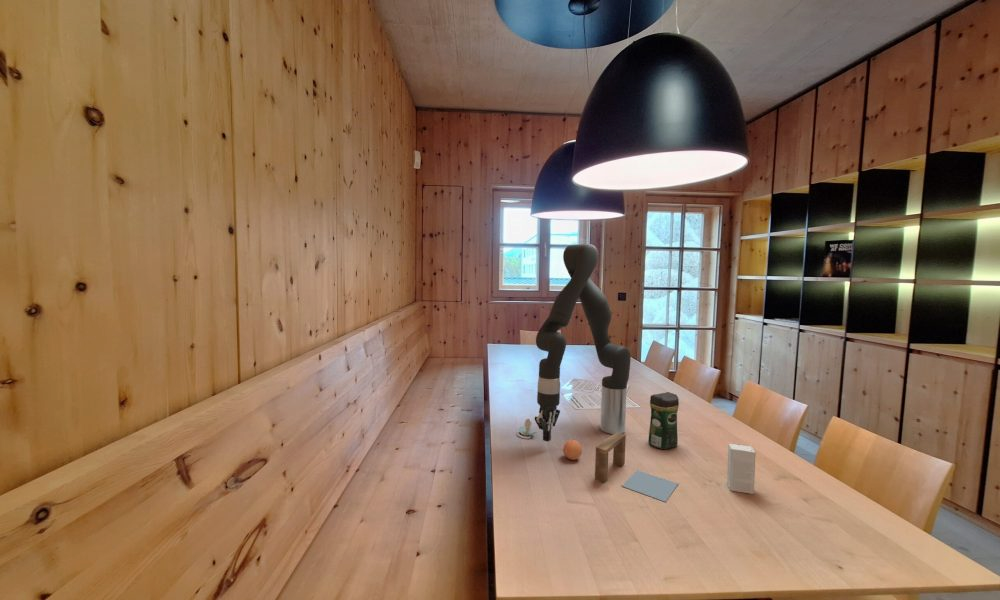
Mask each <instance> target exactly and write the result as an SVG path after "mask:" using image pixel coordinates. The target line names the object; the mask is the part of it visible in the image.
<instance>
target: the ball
mask: <svg viewBox="0 0 1000 600" xmlns="http://www.w3.org/2000/svg"><path fill="white" fill-rule="evenodd" d="M562 448H563V449H562V451H563V455H564V456H565V457H566V458H567V459H569V460H573V461H575V460H577V459H579V458H580V457H581V455H582V452H583V448H582V445H581V444H580V442H579V441H577V440H574V439H569V440H567V441H566V442H565V443H564V444H563V447H562Z"/></svg>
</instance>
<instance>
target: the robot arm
mask: <svg viewBox="0 0 1000 600" xmlns="http://www.w3.org/2000/svg"><path fill="white" fill-rule="evenodd" d="M562 259H563V264H564V266H565V269H566V271H567V272H568V275H569V277H570V280H569V281H568V282H567V284H565V286H564V287H563V288H562V289H561V291H560V292H559V294H557V296H556V298H555V299H554V302H553V304H552V307H551V309H550V312H549V314H548V317H547V318H546V320H545V321H544V322H543V324H542V325H541V327H540V328H539V330H538V332H537V334H536V336H535V344H536V346H537V349H538V350H540V351H543V352H547V357H545V358H542V359H541V360H540V361H539V363H538V364H539V365H538V379H537V394H536V395H537V397H536V403H537V404H538V406H539V411H538V416H535V417H534V421H535V423H536V425H537V427H538V429H540V430H542V440H543V441H544V442H550V441H551V439H552V430H553V427H555V426H556V424H557V421H558V419H559V417H560V413H561V410H560V409H558V408H557V407H558V406H559V405H560V402H561V401H560V400H561V380H560V379H561V378H560V377H561V365H562V362H563V358H564V355H565V353H566V352H565V351H566V347H567V341H566V338H565V335H563V333H561V332H558V331H559V330H560V329H562V328H565V327H567V326H569V324H570V320H571V318H572V314H573V313H574V312H573V311H574V309H575V306H576V304H577V301H578V300H579V301H580V303H581V307H582V310H583V313H584V315H585V318H586V320H587V322H588V326H589V329H590V331H591V335H592V339H593V342H594V346H595V350H596V355H597V358H598V361H599V363H600V364H601V366H603V367H605V368H609V369H612V373H611V375H608V376H604V377H602V379H601V398H600V399H601V402H600V427H599V429H600V430H601V431H602V432H603V433H606V434H610V435H613V434H615V433H616V432H618V433H622V434H625V432H626V418H627V417H626V415H627V414H626V413H627V394H628V393H627V390H628V388H627V387H628V382H629V379H630V369H631V360H632V359H631V356H632V355H631V351H630V349H629V348H628V347H626V346H623V345H619V344H614V343H612V341H611V339H610V335H609V327H610V324H611V319H612V310H611V307H610V304H609V302H608V299H607V297H606V295H605V294H604V293H603V291H602V290H601V289H600V288H599V287H598V286H597V284H595V283H594V281H593V280H592V278H591V276H592V274H593V272H594V270H595V268H596V266H597V264H598V261H599V251H598V249H597V248H596V246H595V245H593V244H591V243H590V244H589V243H582V244H581V243H580V244H570V245H568V246H566V247H565V248H564V250H563V255H562Z"/></svg>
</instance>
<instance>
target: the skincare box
mask: <svg viewBox="0 0 1000 600" xmlns="http://www.w3.org/2000/svg"><path fill="white" fill-rule="evenodd" d="M727 446H728V447H727V450H728V452H727V472H726V475H727V476H726V478H727V479H726V485H727V486H728V489H729V491H732V492H738V493H746V494H752V495H754V493H755V476H756V457H757V456H756V455H757V452H756V451H755V450H754V448H753V446H749V445H741V444H734V443H728V445H727Z"/></svg>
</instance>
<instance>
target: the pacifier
mask: <svg viewBox="0 0 1000 600" xmlns="http://www.w3.org/2000/svg"><path fill="white" fill-rule="evenodd" d="M531 426H532V420H531V418H526V420H525V421H524V425H522V426H521V425H520V426H519V427H518V432H516V435H517V436H518V437H519V438H521V439H524V440H529V439H531V438H532V435H535V434H536V433H537V432H536V431H531ZM520 433H521V434H520ZM526 436H527V437H526Z"/></svg>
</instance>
